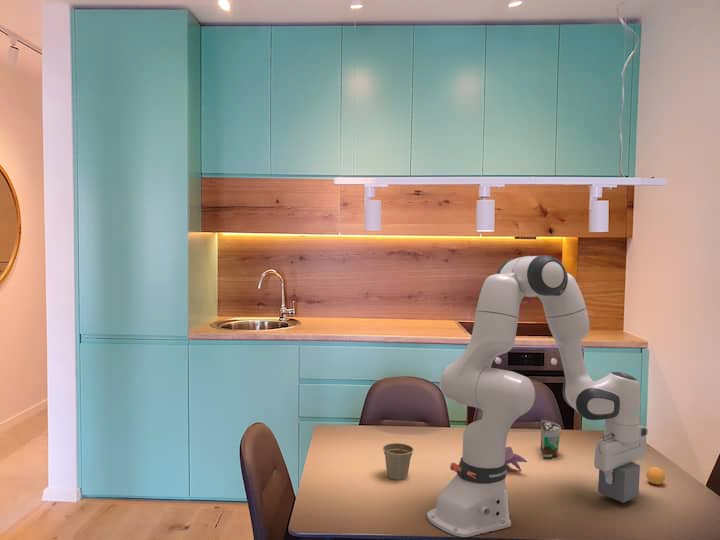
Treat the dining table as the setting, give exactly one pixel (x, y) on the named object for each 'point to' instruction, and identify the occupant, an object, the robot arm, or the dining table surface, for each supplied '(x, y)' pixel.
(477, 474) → the robot arm
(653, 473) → the ball
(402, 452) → the flower pot
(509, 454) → the lily
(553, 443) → the food container
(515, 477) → the dining table surface
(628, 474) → the gray rectangular box
